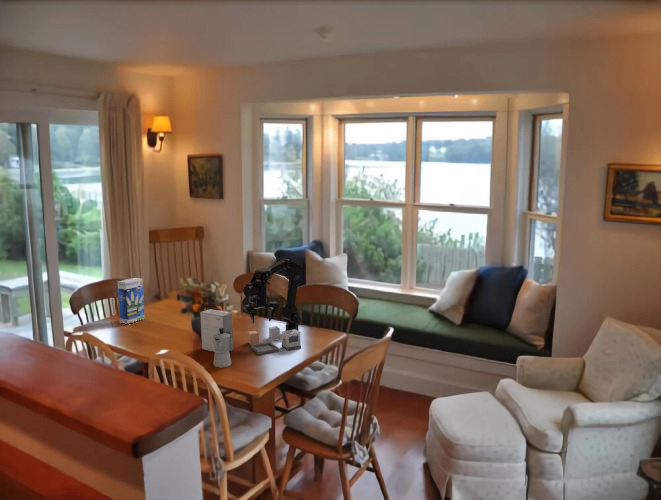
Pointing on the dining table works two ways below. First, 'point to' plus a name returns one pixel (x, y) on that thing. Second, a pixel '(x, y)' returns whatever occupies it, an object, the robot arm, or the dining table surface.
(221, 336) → the coffee maker
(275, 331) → the grey block
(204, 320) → the hard drive box
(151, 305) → the dining table surface
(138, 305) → the string lights box
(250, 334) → the terracotta block
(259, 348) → the charcoal tray
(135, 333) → the dining table surface
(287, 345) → the mounted unit
